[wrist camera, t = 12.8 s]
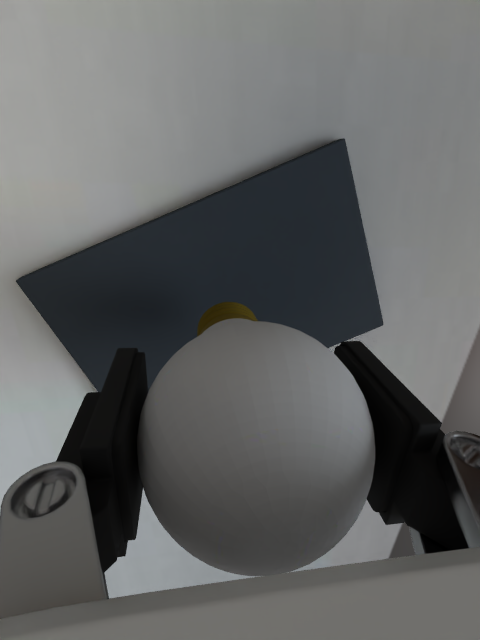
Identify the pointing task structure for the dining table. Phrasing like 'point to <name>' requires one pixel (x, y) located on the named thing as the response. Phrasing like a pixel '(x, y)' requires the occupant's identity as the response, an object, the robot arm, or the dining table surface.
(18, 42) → the dining table surface
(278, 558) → the light bulb
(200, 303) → the mat
